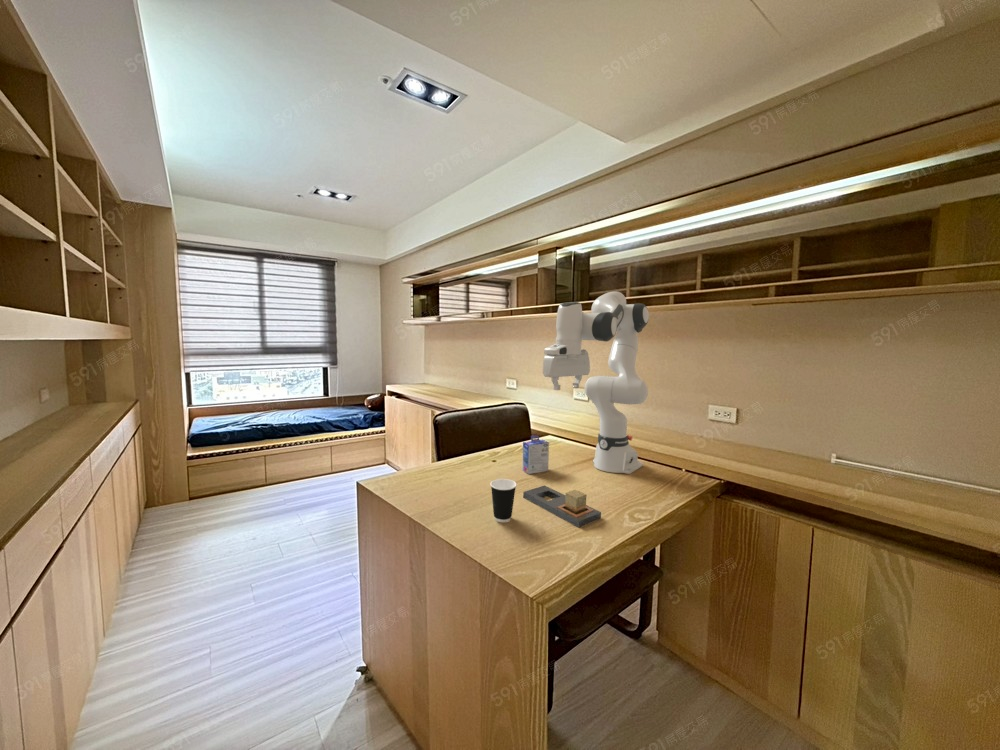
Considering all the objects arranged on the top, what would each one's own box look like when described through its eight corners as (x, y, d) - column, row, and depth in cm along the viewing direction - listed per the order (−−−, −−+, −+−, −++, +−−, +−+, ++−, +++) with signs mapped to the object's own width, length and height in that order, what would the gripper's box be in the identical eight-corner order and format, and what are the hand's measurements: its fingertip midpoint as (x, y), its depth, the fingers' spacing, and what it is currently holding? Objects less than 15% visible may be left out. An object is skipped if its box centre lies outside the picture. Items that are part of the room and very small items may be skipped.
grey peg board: (544, 490, 136) (544, 484, 136) (600, 518, 116) (601, 511, 116) (523, 497, 130) (523, 491, 130) (578, 527, 110) (579, 520, 110)
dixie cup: (484, 518, 115) (484, 483, 114) (503, 510, 120) (503, 476, 119) (502, 528, 109) (503, 491, 108) (521, 519, 115) (522, 484, 114)
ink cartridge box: (542, 467, 161) (543, 433, 159) (549, 471, 156) (550, 437, 154) (521, 470, 157) (522, 435, 155) (528, 474, 152) (529, 439, 150)
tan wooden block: (574, 510, 121) (575, 489, 121) (585, 516, 118) (586, 494, 117) (564, 514, 119) (565, 492, 118) (575, 520, 115) (576, 498, 114)
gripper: (581, 348, 139) (579, 386, 141) (540, 349, 127) (539, 389, 129) (595, 349, 134) (593, 388, 136) (553, 349, 122) (552, 392, 123)
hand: (566, 389), depth 132 cm, fingers open, 8 cm apart
